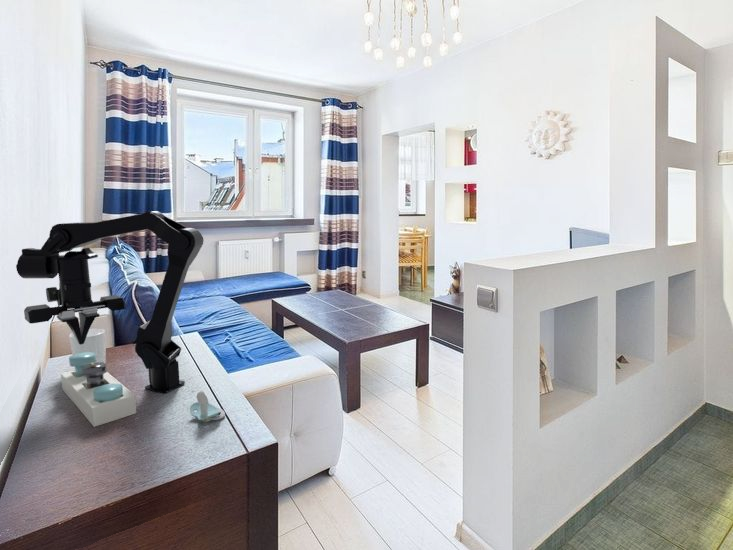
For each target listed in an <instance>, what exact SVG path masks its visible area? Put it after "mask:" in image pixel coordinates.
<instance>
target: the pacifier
mask: <svg viewBox="0 0 733 550" xmlns="http://www.w3.org/2000/svg"><path fill="white" fill-rule="evenodd" d="M196 401H197V402H194V403H192V404H191V405H190V406H189V412H190V414H191V416H193V417H195V418H197V420H199V421H202V422H211V421H219V420H221V419H224V418H225V415H226V412H225V411H224V409H222V408H219V407H216V406H215V405H212V404H211V403H209V400H208V397H207V395H206V394H205V392H204V391H203V390H199V391H198V392H197V394H196ZM218 414H219V415H218Z"/></svg>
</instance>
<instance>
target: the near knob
mask: <svg viewBox="0 0 733 550" xmlns="http://www.w3.org/2000/svg"><path fill="white" fill-rule="evenodd" d="M121 384H122V383H121ZM121 384H107V385H103V386H100V387H97V388H96V389H94V391H93V395H94V400H95V401H98V402H100V403H102V402H105V401H111V400H114V399H117V398H119V397H121V396H122V395H123V387H122V385H123V384H122V385H121Z"/></svg>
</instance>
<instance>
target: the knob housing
mask: <svg viewBox="0 0 733 550" xmlns="http://www.w3.org/2000/svg"><path fill="white" fill-rule="evenodd" d="M103 376H104V385H107V384H121V385H122V387H123V395H122V396H121V397H119V398H117V399H114V400H111V401H105V402H102V403H100V402H98V401H95V400H94V395H93V391H94V389H96V388H97V387H95V388H91V389H89V388H87V380H86V377H84V376H82V377H76V370H75V369H74V370H73V369H72V370H68V371H65V372H61V373H60V380H61V386H62V387H61V388H62V390H63V392H64V393H65V394H66V396H67V397H68V398H69V399H70V400H71V402H73V403H74V405H75V406H76V407H77V408H78V410H79V411H80V412H81V413H82V414H83V416H84V417H85V418H86V419H87V420H88V422H89V423H90V424H91V425H92V426H93V427H94V428H95V427H98V426H101V425H104V424H107V423H110V422H113V421H117V420H120V419H122V418H125V417H129V416H132V415H136V414H137V404H136V403H137V402H136V394H134V393H133V391H132V392H131V391H130V390H129V389H128V388H127V387H126V386H125V385H123V383H121V382H120V381H119V380H117V379H116V378H115V377H114V376H112V375H111V374H110V373H109V372H108V371H107V372H106V373H104V374H103ZM99 387H100V386H99Z"/></svg>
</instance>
